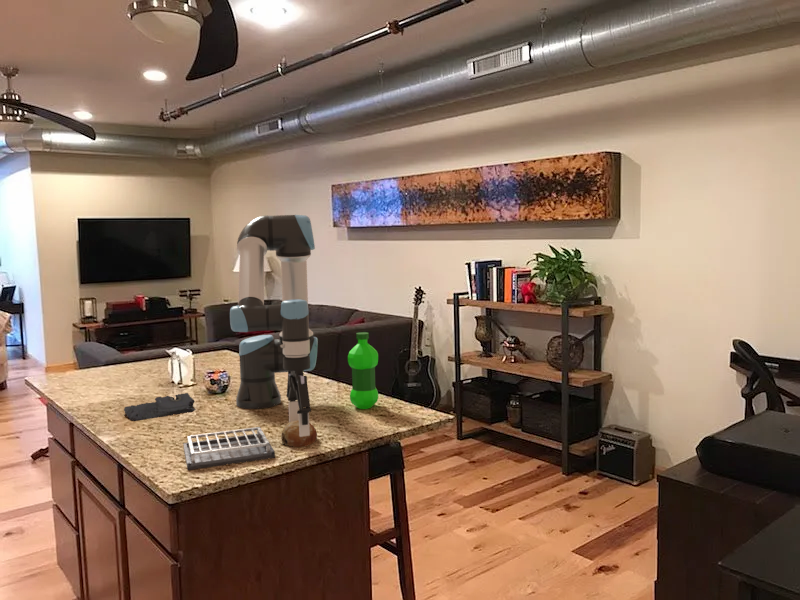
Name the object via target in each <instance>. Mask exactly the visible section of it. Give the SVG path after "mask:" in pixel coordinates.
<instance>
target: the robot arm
mask: <svg viewBox="0 0 800 600" xmlns="http://www.w3.org/2000/svg"><path fill="white" fill-rule="evenodd" d="M315 246H316V245H315V240H314V233H313V226H312V222H311V218H310V216H307V215H303V214H284V215H283V214H281V215H278V214H277V215H266V214H265V215H261V216H258V217H256V218H253V219H252V220H251V221H250V222H248V223H247V224H246V225H245V226H244V227H243V229H242V230H241V232H240V233H239V235H238V238H237V241H236V251H237V253H238V255H239V268H238V271H239V273H238V295H237V297H238V298H237V305H233V306H231V307H230V309H229V324H230V329H231V331H232V332H235V333H236V332H237V333H238V332H239V333H248V332H249V333H250V332H266V331H280V332H279V334H278V335H279V336H278V337H279V338H274V336H273V335H272V334H262V335H256V336H252V337H248V338H244V339H243V340H241V342H239V344H238V345H239V347H238V350H239V351H238V352H239V353H238V356H239V373H240V374H239V376H240V377H239V378H240V385H239V388H238V390H237V395H236V400H235V401H236V402H235V404H236V406H237V407H239V408H241V409H249V410H250V409H251V410H255V409H256V410H257V409H266V408H267V409H268V408H272V407H274V406H275V407H276V406H277V405H279V404H281V402H282V397H281V392H280V390H279V388H278V386H277V382H276V379H275V378H276V376H275V375H276V374H278V373H287V384H286V385H287V386H286V398H287V400H288V423H290V422H292V421H297V420H299V436H300V437H302V436H310V428H309V423H310V412H312V408H311V401H310V395H309V388H308V376H307V375H304V372H310V371H313V370H314V369H315V367H316V363H317V359H318V358H317V357H318V345H319V344H318V343H319V342H318V341H319V339H318V337H316V336H314V331H312V330H311V329H310V326H309V325H310V324H309V323H310V319H309V314H310V313H309V312H310V311H309V297H308V269H307V268H308V267H307V265H308V264H307V261H308V259H309V258H310V257H311V255H312V252H311V251H313V250H315V249H316V247H315ZM268 251H270V252H272V251H273V252H274V251H275V257H276V258H277V259H278V260H279V261H280V272H281V273H280V274H281V277H280V278H281V297H282V302H281V304H265V256H266V254H267V252H268Z"/></svg>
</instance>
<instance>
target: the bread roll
mask: <svg viewBox="0 0 800 600" xmlns="http://www.w3.org/2000/svg"><path fill="white" fill-rule="evenodd" d="M309 428H310V436H302V437H300V436H299V420H297V421H292V422H290V423H289V422H288V423H286V425H284V427H283V429H282V430H281V445H283V444H286V445H285V446H287V445H289V446H288V447H292V446H293V448H302V447H307V445H308V446H311V445H312V444H314V443H315V442H316V441H317V439H318V438H317V437H318V433H317V429H316V427H315V426H314V425H313V424H311V423H310V422H309Z"/></svg>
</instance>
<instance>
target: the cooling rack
mask: <svg viewBox="0 0 800 600" xmlns="http://www.w3.org/2000/svg"><path fill="white" fill-rule="evenodd" d="M255 431H256V432H255ZM246 432H252V433H251V434H246ZM237 433H243V435H237ZM228 434H233V435H234V436H228ZM221 435H224V437H221V438H219V437H218V436H221ZM213 436H214V437H215V438H213V439H209V437H213ZM186 438H187V442H183V445H182V446H183V451H184V452H183V453H184V458H185V464H186V468H187V471H191V470H199V469H198V468H200V469H205V468H212V467H213V466H214V467H218V466H219V467H220V466H227V465H226V464H228V465H233V464H232V463H235V464H241V463H240V462H242V463H246V461H247V463H248V461H249V462H254V461H255V460H256V461H262V460H261V459H263V460H269V459H268V458H270V459H275V458H276V452H275V450H274V448H273V447H272V444H270V442H269V439H267V438H268V437H266V435H265V433H264V432H263V430H262V428H261V427H260V426H256V427H248V428H240V429H231V430H225V431H224V430H223V431H217V432H209V433H201V434H191V435H187V437H186ZM199 438H206V439H205V440H199ZM192 439H196V441H192ZM214 467H213V468H214Z"/></svg>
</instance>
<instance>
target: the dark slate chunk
mask: <svg viewBox="0 0 800 600" xmlns="http://www.w3.org/2000/svg"><path fill="white" fill-rule="evenodd" d="M174 396H175V397H173V396H170V395H165V396H163V397H162V396H156V398H154V400H155V401H153V402H145V403H139V404H137V405H134V404H133V405H129V406H125V407H124V409H123V411H124V414H126V416H127V417H126V418H129V420H130V421H132V422H133V421H134V422H139V421H145V420H151V419H155V418H156V419H158V418H164V417H169V416H168V415H170V416H174V415H173V414H176V415H181V414H180V413H182V414H186V413H187V412H188V413H193V412H194V411H197V409H196V408H194V404H195V400H194V398H193V397H191V395H190V394H189V392H185V393H181V394H180V393H178V394H175V395H174Z"/></svg>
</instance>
